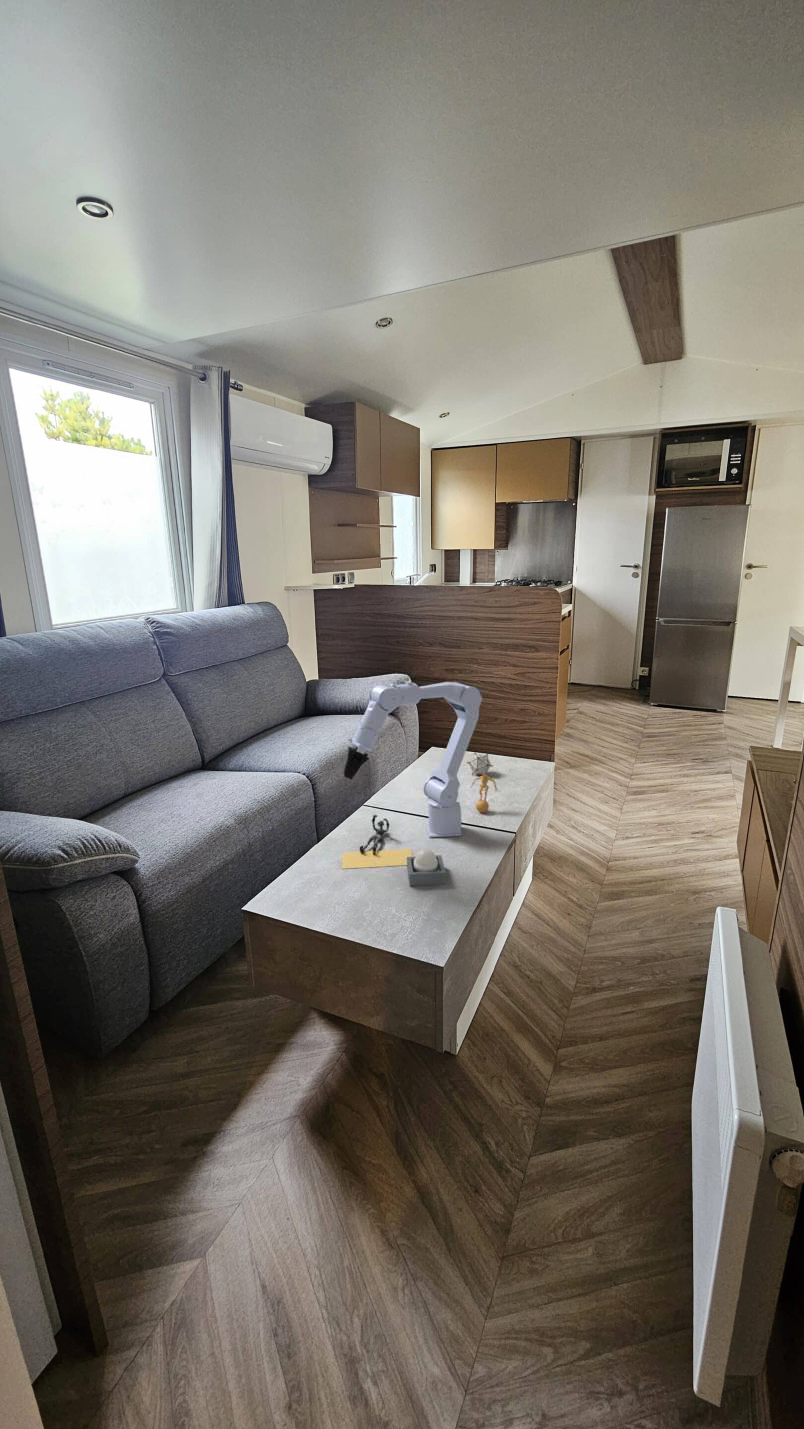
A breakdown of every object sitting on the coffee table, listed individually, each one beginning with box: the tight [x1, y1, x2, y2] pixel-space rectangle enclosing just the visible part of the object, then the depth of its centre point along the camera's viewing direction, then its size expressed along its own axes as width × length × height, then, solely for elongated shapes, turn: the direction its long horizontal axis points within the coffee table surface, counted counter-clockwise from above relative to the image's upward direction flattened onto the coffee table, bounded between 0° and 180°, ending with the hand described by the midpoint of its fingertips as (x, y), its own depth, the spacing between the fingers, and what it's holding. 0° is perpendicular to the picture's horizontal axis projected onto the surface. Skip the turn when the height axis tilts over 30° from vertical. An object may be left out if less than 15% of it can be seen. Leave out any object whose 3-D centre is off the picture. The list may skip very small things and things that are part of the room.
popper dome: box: [414, 848, 438, 872], centre depth 155 cm, size 6×6×5 cm
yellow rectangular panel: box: [341, 848, 414, 870], centre depth 166 cm, size 19×9×1 cm, turn 94°
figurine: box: [470, 773, 498, 813], centre depth 193 cm, size 8×6×12 cm
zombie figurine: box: [359, 814, 390, 855], centre depth 174 cm, size 5×7×15 cm
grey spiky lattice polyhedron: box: [466, 752, 494, 776], centre depth 224 cm, size 9×8×10 cm
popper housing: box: [406, 854, 447, 887], centre depth 156 cm, size 9×9×3 cm
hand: (347, 776), depth 161 cm, fingers open, 7 cm apart
